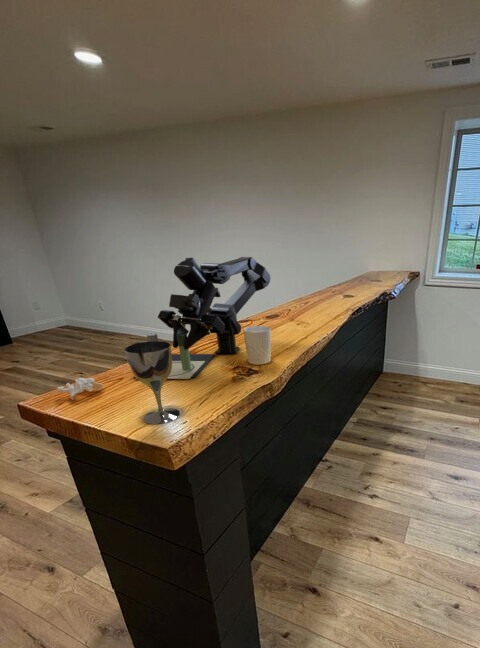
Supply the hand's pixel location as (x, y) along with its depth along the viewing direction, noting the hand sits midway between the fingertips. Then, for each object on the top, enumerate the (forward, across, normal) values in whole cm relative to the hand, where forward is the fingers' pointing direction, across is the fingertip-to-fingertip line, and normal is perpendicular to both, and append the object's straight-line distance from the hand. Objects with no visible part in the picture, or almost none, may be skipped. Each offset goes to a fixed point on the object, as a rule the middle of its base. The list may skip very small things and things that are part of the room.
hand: (179, 348), depth 94 cm
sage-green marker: (+4, 0, +6) cm, 7 cm away
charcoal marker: (+6, -7, +4) cm, 10 cm away
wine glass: (+21, +13, -11) cm, 27 cm away
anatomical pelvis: (+19, -12, -9) cm, 25 cm away
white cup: (-6, +15, +16) cm, 23 cm away
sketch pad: (+2, -5, +8) cm, 9 cm away
